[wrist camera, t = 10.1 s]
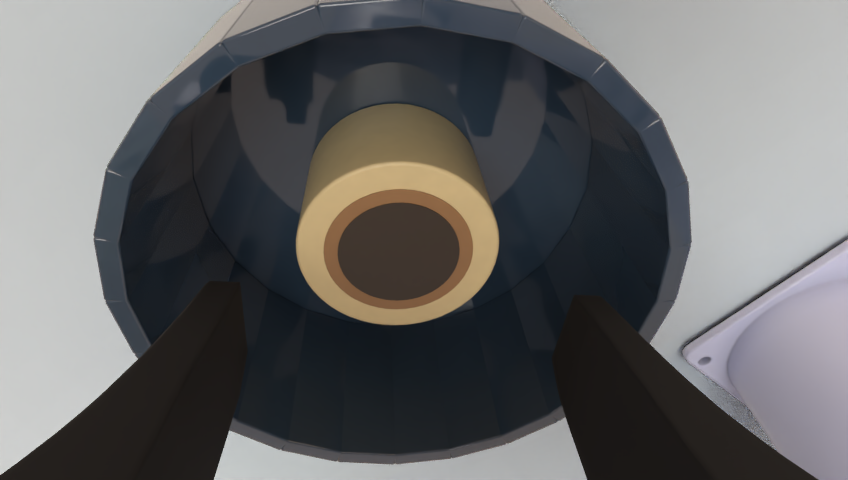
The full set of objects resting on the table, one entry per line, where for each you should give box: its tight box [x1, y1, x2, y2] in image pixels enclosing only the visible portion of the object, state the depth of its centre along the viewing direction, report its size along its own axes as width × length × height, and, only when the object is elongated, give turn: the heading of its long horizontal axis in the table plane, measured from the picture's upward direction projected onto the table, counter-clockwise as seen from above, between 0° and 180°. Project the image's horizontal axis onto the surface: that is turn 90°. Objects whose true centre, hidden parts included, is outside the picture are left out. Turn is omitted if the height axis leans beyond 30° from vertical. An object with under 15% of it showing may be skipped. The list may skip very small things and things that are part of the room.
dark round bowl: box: [94, 0, 692, 464], centre depth 15 cm, size 13×13×6 cm
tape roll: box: [296, 104, 499, 325], centre depth 15 cm, size 5×5×4 cm
